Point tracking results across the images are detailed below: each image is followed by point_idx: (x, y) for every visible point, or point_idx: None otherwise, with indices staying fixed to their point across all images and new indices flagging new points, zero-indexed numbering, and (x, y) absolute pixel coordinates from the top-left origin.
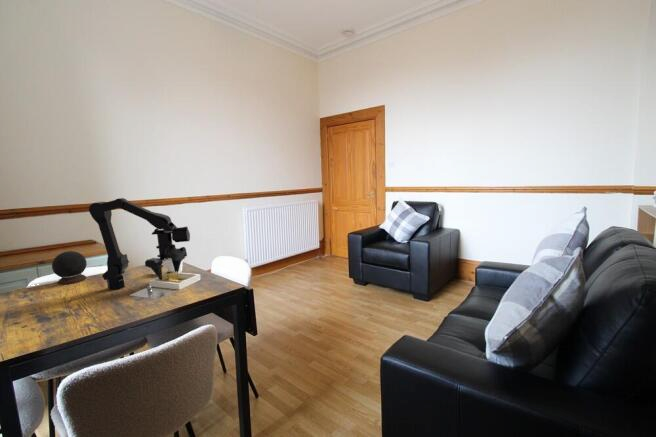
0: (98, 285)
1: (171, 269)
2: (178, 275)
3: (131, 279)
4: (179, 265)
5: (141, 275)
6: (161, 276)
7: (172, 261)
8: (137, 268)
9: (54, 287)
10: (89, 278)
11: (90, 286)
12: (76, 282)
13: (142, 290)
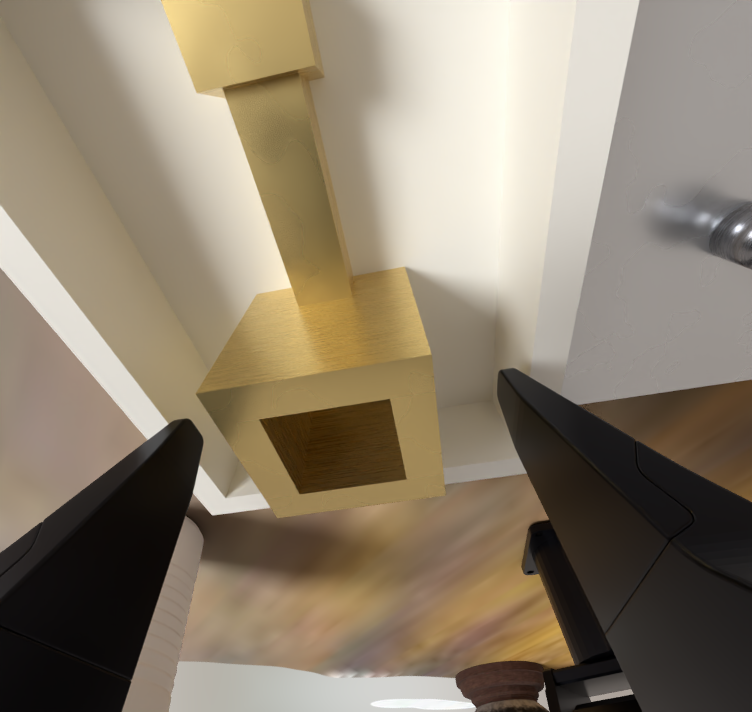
0: (522, 617)
1: (173, 566)
2: (186, 400)
3: (403, 594)
4: (40, 531)
5: (334, 604)
6: (541, 395)
7: (116, 707)
8: (283, 659)
9: (568, 664)
10: (459, 667)
11: (540, 624)
12: (514, 663)
13: (646, 377)
